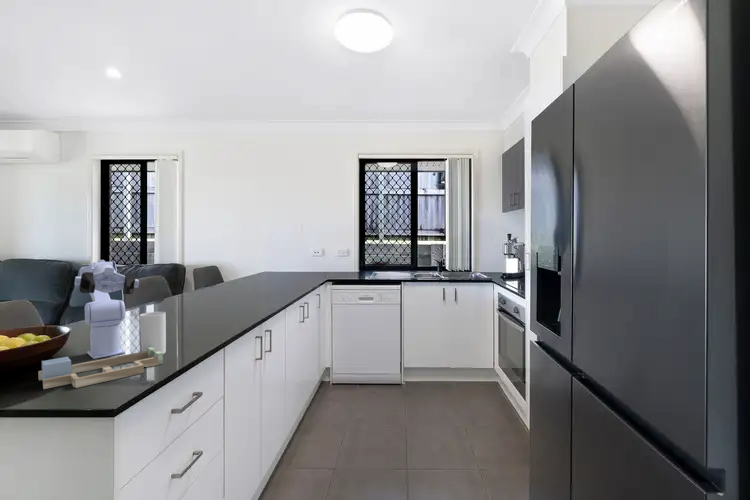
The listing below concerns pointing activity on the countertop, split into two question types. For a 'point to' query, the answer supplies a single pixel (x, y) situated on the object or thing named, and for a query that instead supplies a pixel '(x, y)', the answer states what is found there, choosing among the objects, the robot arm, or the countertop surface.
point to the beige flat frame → (106, 369)
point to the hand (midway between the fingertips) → (111, 289)
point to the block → (56, 367)
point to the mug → (153, 331)
